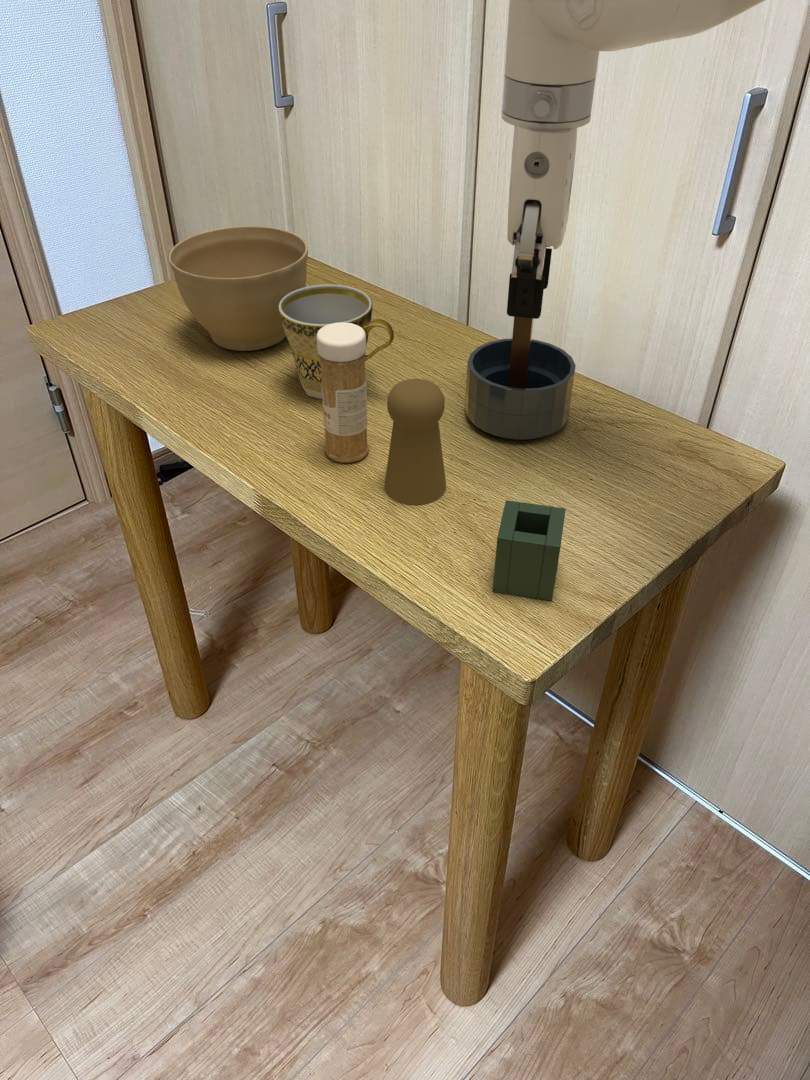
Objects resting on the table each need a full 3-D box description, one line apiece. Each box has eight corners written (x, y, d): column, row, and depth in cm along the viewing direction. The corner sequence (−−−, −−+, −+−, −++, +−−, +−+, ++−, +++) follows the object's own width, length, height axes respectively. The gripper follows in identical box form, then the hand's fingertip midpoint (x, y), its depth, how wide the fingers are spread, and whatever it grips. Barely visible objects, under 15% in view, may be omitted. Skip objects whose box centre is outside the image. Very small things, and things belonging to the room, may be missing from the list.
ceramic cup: (270, 396, 95) (260, 313, 88) (314, 357, 102) (308, 277, 95) (374, 423, 91) (371, 338, 84) (412, 380, 98) (413, 298, 91)
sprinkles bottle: (321, 443, 88) (312, 323, 79) (364, 436, 89) (360, 317, 80) (329, 468, 85) (320, 346, 76) (374, 461, 85) (370, 340, 77)
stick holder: (557, 561, 74) (565, 508, 70) (551, 601, 70) (560, 547, 66) (500, 553, 75) (505, 499, 71) (492, 591, 71) (497, 537, 67)
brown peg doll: (374, 476, 84) (371, 378, 76) (429, 461, 85) (431, 364, 78) (399, 511, 79) (399, 411, 72) (457, 494, 81) (462, 395, 74)
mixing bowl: (571, 396, 95) (579, 344, 91) (562, 451, 87) (570, 396, 83) (474, 385, 97) (477, 333, 93) (457, 438, 89) (459, 383, 84)
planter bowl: (324, 309, 112) (318, 226, 105) (300, 369, 99) (291, 281, 92) (205, 303, 113) (192, 221, 106) (167, 362, 101) (148, 274, 94)
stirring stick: (524, 406, 92) (541, 242, 80) (522, 415, 91) (539, 250, 79) (507, 404, 92) (522, 241, 80) (505, 413, 91) (520, 248, 79)
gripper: (585, 131, 64) (558, 346, 76) (598, 78, 77) (573, 269, 89) (487, 124, 66) (475, 337, 77) (516, 73, 78) (501, 263, 90)
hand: (527, 299), depth 83 cm, fingers open, 5 cm apart
